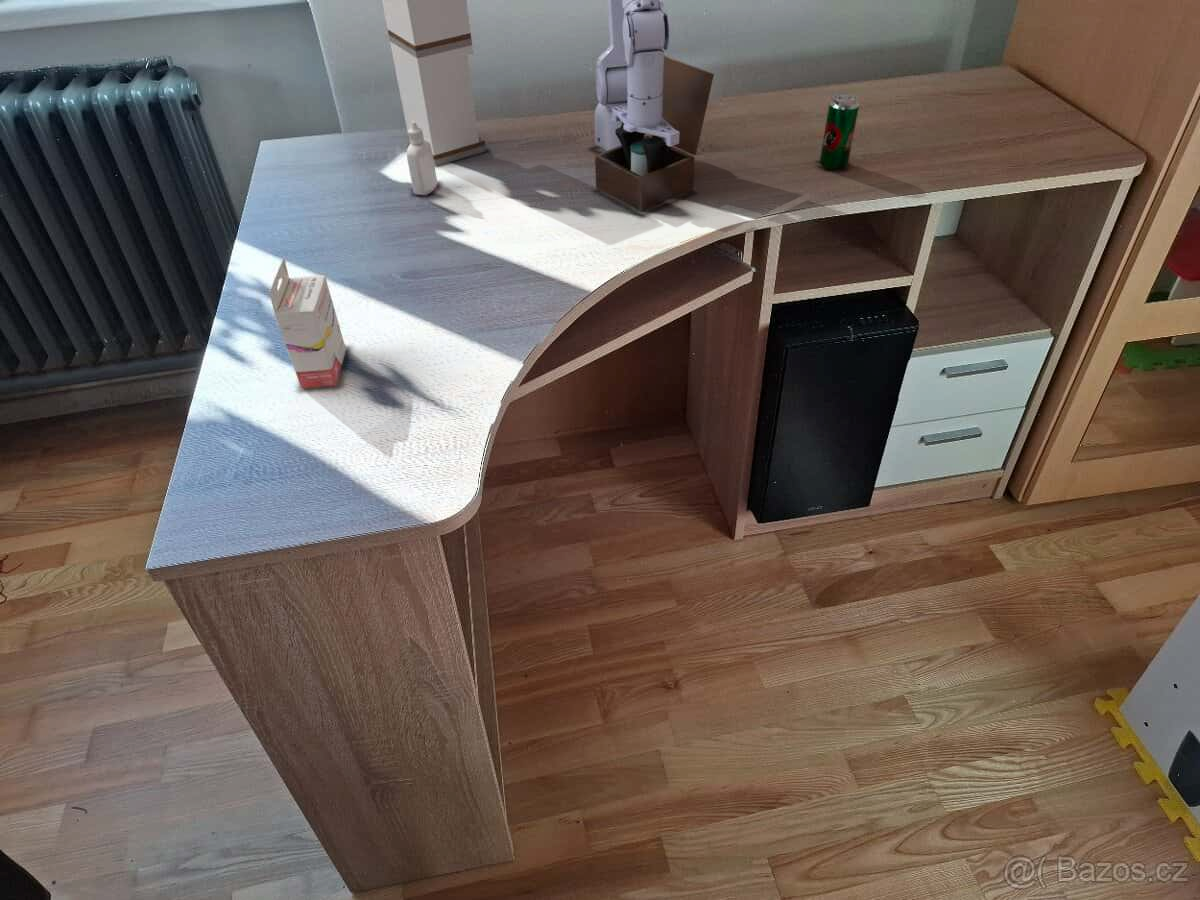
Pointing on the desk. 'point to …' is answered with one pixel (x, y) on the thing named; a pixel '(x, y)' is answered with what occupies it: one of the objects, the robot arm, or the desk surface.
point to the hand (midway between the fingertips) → (644, 173)
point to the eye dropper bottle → (420, 162)
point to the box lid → (685, 101)
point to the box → (644, 178)
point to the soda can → (839, 131)
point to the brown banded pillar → (435, 73)
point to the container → (638, 158)
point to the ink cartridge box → (308, 327)
